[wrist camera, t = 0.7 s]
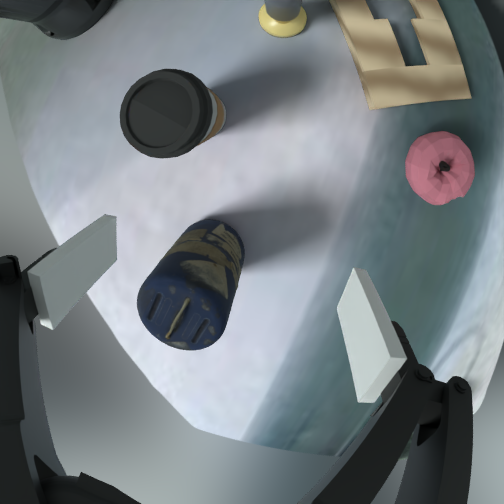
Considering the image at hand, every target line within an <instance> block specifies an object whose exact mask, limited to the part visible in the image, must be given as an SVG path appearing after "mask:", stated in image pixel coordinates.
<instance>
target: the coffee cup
mask: <svg viewBox="0 0 504 504" xmlns="http://www.w3.org/2000/svg"><path fill="white" fill-rule="evenodd" d="M225 120H226V109H225V106H224V104H223V102H222V101H221V100H220V99H219V98H218V97H217V95H216V94H215V93H213V92H212V91H211V90H210V89H209V88H207V87H206V86H205V85H204V84H203V82H202V81H201V80H200V79H198V78H197V77H196V76H194V75H193V74H191V73H188V72H185V71H182V70H177V69H162V70H158V71H154V72H152V73H150V74H148V75H146V76H144V77H142V78H140V79H139V80H138V81H137V82H136V83H135V84H133V85H132V86H131V88H130V89H129V90H128V92H127V93H126V95H125V97H124V100H123V102H122V105H121V110H120V124H121V128H122V131H123V134H124V136H125V138H126V139H127V141H128V142H129V143H130V144H131V145H132V146H133V147H134V148H135V149H137V150H138V151H140V152H141V153H143V154H145V155H147V156H150V157H155V158H171V157H178V156H180V155H183V154H185V153H188V152H189V151H191V150H192V149H193V148H194V147H196V146H198V145H200V144H201V143H203V142H205V141H207V140H209V139H210V138H212V137H213V136H214V135H216V134H217V133H218V132H219V131H220V130H221V129H222V127H223V125H224V123H225Z"/></svg>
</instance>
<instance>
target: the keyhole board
mask: <svg viewBox="0 0 504 504" xmlns="http://www.w3.org/2000/svg"><path fill="white" fill-rule="evenodd" d="M409 1H410V3H411V5H412V7H413V10H414V12H415V14H416V16H417V19H411V22H412V25H413V27H414V30H415V32H416V35H417V37H418V40H419V43H420V45H421V48H422V51H423V54H424V57H425V60H426V63H427V65H422V66H407V67H406V66H405V63H404V60H403V57H402V54H401V51H400V49H399V46H398V43H397V41H396V38H395V36H394V33H393V31H392V28H391V26H390V23H389V21H388V19H374V18H373V16H372V14H371V12H370V9H369V7H368V5H367V3H366V1H365V0H329V2H330V4H331V6H332V8H333V10H334V13H335V15H336V17H337V19H338V22H339V24H340V26H341V29H342V31H343V34H344V36H345V39H346V41H347V44H348V46H349V49H350V52H351V54H352V57H353V60H354V62H355V65H356V68H357V71H358V74H359V77H360V80H361V83H362V86H363V90H364V93H365V96H366V100H367V103H368V106H369V110H373V109H380V108H386V107H393V106H400V105H407V104H414V103H423V102H432V101H442V100H455V99H471V94H470V90H469V86H468V82H467V79H466V75H465V72H464V68H463V65H462V62H461V59H460V56H459V53H458V50H457V47H456V44H455V41H454V39H453V36H452V33H451V31H450V28H449V26H448V23H447V21H446V19H445V16H444V14H443V12H442V10H441V7H440V5H439V3H438V1H437V0H409Z"/></svg>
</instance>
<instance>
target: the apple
mask: <svg viewBox="0 0 504 504" xmlns="http://www.w3.org/2000/svg"><path fill="white" fill-rule="evenodd" d="M405 165H406V178H407V180H408V181H409V183H410V185H411V187H412V189H413V190H414V191H415V193H417V194H418V195H419V196H420V197H422V198H423V199H424V200H425V201H427V202H429V203H431V204H433V205H442V204H445V203H449V201H450V200H451V199H456V197H460V196H461V197H464V195H465V194H466V193H467V191H468V190H469V188H470V186H471V184H472V181H473V178H474V176H475V172H474V161H473V158H472V154H471V151H470V150H469V148H468V147H467V146H466V145H465V144H464V142H463V141H462V140H461V139H460V138H459V137H458V136H457V135H454V134H451V133H449V132H445V131H439V132H432V133H428V134H425V135H423V136H420V137H418V138H417V139H416V140H415V141H414V143H413V144H412V145H411V146H410V149H409V152H408V155H407V158H406V161H405Z"/></svg>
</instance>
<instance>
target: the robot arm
mask: <svg viewBox="0 0 504 504" xmlns="http://www.w3.org/2000/svg"><path fill="white" fill-rule="evenodd" d="M112 1H113V0H0V18H6V19H13V20H19V21H25V22H30V23H33V24H34V25H35V26H36V27H37V28H38V29H40V30H41V31H42V32H43V33H44V34H46V35H47V36H49V37H51V38H55V39H60V40H66V39H71V38H74V37H76V36H78V35H80V34H82V33H83V32H85V31H86V30H88V29H89V28H90V27H92V26H93V25H94V24H95V23H96V22H97V21H98V20H99V19H100V18H101V17H102V15H103V14H104V13H105V12H106V10H107V9H108V7H109V6H110V4H111V3H112ZM116 260H117V246H116V216H111V215H106V214H105V215H103V216H102V217H100V218H99V219H97V220H96V221H94V222H93V223H92V224H90V225H89V226H87V227H86V228H84V229H83V230H81V231H80V232H79V233H77V234H76V235H74V236H73V237H72V238H70V239H69V240H67V241H66V242H65V243H63V244H62V245H61V246H59V247H58V248H55V249H52V250H50V251H48V252H46V253H45V254H44V255H42V257H40V258H39V259H37V260H36V261H35V262H34V263H32V264H31V265H30V266H28V267H27V268H26V269H25V270H23V271H22V272H21V270H20V266H19V262H18V258H17V257H16V256H13V255H6V256H2V257H0V504H141V503H139V502H137V501H136V500H134V499H132V498H131V497H129V496H128V495H126V494H124V493H123V492H121V491H120V490H118V489H117V488H115V487H114V486H112V485H109V484H107V483H105V482H102V481H100V480H97V479H95V478H93V477H91V476H89V475H86V474H84V473H82V472H81V473H80V476H79V477H76V476H67V475H66V473H65V471H64V469H63V467H62V465H61V463H60V461H59V459H58V457H57V455H56V452H55V448H54V445H53V441H52V437H51V433H50V429H49V425H48V421H47V416H46V411H45V406H44V400H43V394H42V388H41V382H40V374H39V366H38V357H37V345H36V326H35V322H34V318H35V317H36V316H37V315H39V319H40V322H41V324H42V325H44V326H46V327H48V328H50V329H52V330H53V329H54V328H55V327H56V326H57V325H58V324H59V323H60V321H61V320H62V319H63V318H64V317H65V316H66V314H67V313H68V312H69V311H70V310H71V309H72V307H73V306H74V305H75V304H76V303H77V302H78V301H79V300H80V299H81V297H82V296H83V295H84V294H85V293H86V292H87V291H88V290H89V289H90V288H91V287H92V286H93V284H94V283H95V282H96V281H97V280H98V279H99V278H100V277H101V276H102V275H103V274H104V273H105V272H106V271H107V270H108V269H109V268H110V267H111V266H112V265H113V264H114V262H115V261H116ZM337 312H338V316H339V319H340V323H341V327H342V332H343V336H344V340H345V344H346V348H347V353H348V357H349V361H350V366H351V370H352V375H353V380H354V384H355V389H356V394H357V399H358V402H365V403H374V402H375V401H376V399H377V398H378V397H379V396H380V394H381V397H382V400H383V402H382V403H381V404H380V405H379V406H378V408H377V409H376V410H375V411H374V412H373V413H372V414H371V418H370V420H369V421H368V422H367V424H366V425H365V426H364V428H363V429H362V430H361V432H360V433H359V434H358V436H357V437H356V438H355V440H354V441H353V442H352V443H351V445H350V446H349V447H348V448H347V450H346V451H345V452H344V453H343V455H342V456H341V457H340V458H339V459H338V461H337V462H336V463H335V464H334V465H333V466H332V468H331V469H330V470H329V471H328V472H327V473H326V474H325V475H324V476H323V478H322V479H321V480H320V481H319V482H318V483H317V484H316V485H315V486H314V487H313V488H312V489H311V490H310V491H309V492H308V493H307V494H306V495H305V496H304V497H303V498H302V499H301V500H300V501H299V502H298V503H297V504H370V503H371V502H372V501H373V499H374V498H375V496H376V494H377V493H378V491H379V490H380V489H381V487H382V486H383V484H384V483H385V481H386V480H387V478H388V476H389V475H390V473H391V471H392V470H393V468H394V466H395V465H396V463H397V461H398V460H399V458H400V456H401V454H402V452H403V451H404V449H405V447H406V445H407V443H408V441H409V439H410V437H411V435H412V433H413V437H412V441H411V446H410V451H409V455H408V459H407V464H406V467H405V471H404V475H403V478H402V482H401V485H400V489H399V492H398V495H397V498H396V501H395V504H467V499H468V493H469V486H470V476H471V465H472V448H473V407H472V391H471V387H470V386H469V384H468V382H467V381H466V380H465V379H463V378H461V377H458V376H453V377H452V378H451V379H450V380H449V381H448V382H447V383H444V382H441V381H437V380H435V378H434V375H433V373H432V372H431V370H430V369H428V368H427V367H426V366H424V365H422V364H418V361H417V359H416V357H415V355H414V352H413V350H412V348H411V346H410V344H409V341H408V339H407V338H406V335H405V333H404V331H403V329H402V328H401V327H400V325H399V324H398V323H397V322H395V321H391V320H390V318H389V316H388V314H387V312H386V310H385V307H384V305H383V303H382V301H381V299H380V297H379V295H378V293H377V291H376V289H375V287H374V285H373V283H372V281H371V279H370V277H369V275H368V273H367V271H366V270H364V269H359V268H355V267H353V270H352V272H351V275H350V278H349V280H348V282H347V285H346V287H345V290H344V292H343V295H342V297H341V299H340V302H339V304H338V306H337Z"/></svg>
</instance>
